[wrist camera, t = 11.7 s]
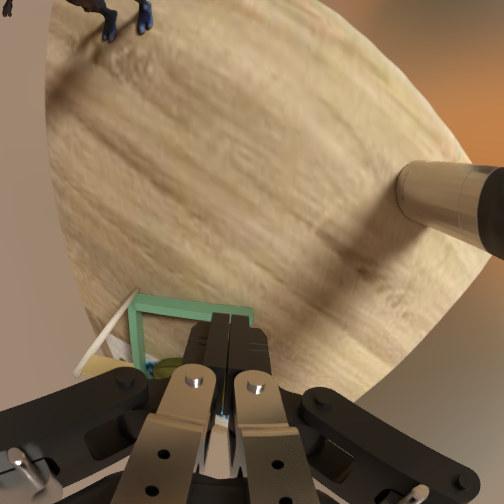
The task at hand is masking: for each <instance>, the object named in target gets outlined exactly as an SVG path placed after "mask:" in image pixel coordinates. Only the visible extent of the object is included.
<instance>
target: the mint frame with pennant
mask: <svg viewBox="0 0 504 504" xmlns="http://www.w3.org/2000/svg"><path fill="white" fill-rule="evenodd" d="M139 292H140V288H139V287H136V288H135V289H134V291H133V292H132V293H131V294H130V296H129V297H128V298H127V299H126V301H125V302H124V303H123V304H122V306H121V307H120V308H119V310H118V311H117V312H116V313H115V315H114V316H113V317H112V319H111V320H110V321H109V323H108V324H107V325H106V327H105V328H104V329H103V330H102V332H101V333H100V334H99V336H98V337H97V339H96V340H95V341H94V343H93V344H92V345H91V347H90V348H89V350H88V351H87V352H86V354H85V355H84V356H83V358H82V359H81V361H80V362H79V363H78V365H77V366H76V368H75V369H74V371H73V372H72V375H73V376H74V377H75V378H79V377H80V375H81V374H82V375H85V376H89V377H92V378H93V377H95V376H98V375H100V374H103V373H105V372H107V371H110V370H112V369H115V368H118V367H133V368H136V369H139V370H141V371H142V372H143V373H144V374H145V375H146V377H147V371H146V360H145V349H144V335H143V318H142V311H143V312H149V313H155V314H161V315H168V316H175V317H182V318H189V319H196V320H204V321H211V318H212V313H213V312H218V313H227V314H230V321H229V324H230V323H231V314H236V315H246V316H249V326H253V320H254V316H253V308H247V307H237V306H228V305H220V304H211V303H203V302H195V301H188V300H180V299H173V298H166V297H159V296H152V295H146V294H140V293H139ZM127 308H128V319H129V331H130V341H131V351H132V359H133V363H130V362H125V361H120V360H116V359H112V358H108V357H104V356H99V355H95V353H96V351H97V350H98V348H99V347H100V346H101V344H102V343H103V341H104V340H105V338H106V337H107V336H108V334H109V333H110V331H111V330H112V329H113V327H114V326H115V324H116V323H117V322H118V320H119V319H120V317H121V316H122V315H123V313H124V312H125V311H126V309H127ZM147 380H149V379H147ZM222 407H223V406H222Z"/></svg>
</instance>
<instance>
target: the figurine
mask: <svg viewBox="0 0 504 504" xmlns="http://www.w3.org/2000/svg"><path fill="white" fill-rule="evenodd" d="M12 1H13V0H7V1H6V3H5V5H4V6H3V13H2V14H3V16H4V17H6V16H7V14H8V16H9V17H11V15H12V14H11V10H12ZM66 1H68V2H69V3H71V4H73V5H76V6H81V7H82V8H83V9H84V11H85V12H96V13H100V14H102V15H103V16H104V18H105V26H104V31H103V36H102V39H103V40H106V39H107V38H108V41H109V42H110V41H113V40H114V37H115V33H116V25H115V22H116V18H117V11H115V10H110V9H108V8H107V7H106V3H105V1H104V0H66ZM135 1H137V2H138V3H139V18H138V25H137V27H138V32H139V34H142V33H144V32H145V27H147V29H150V28H151V27H152V26H153V17H152V12H151V3H150V2H148V1H146V0H135Z"/></svg>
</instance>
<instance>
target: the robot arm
mask: <svg viewBox="0 0 504 504" xmlns="http://www.w3.org/2000/svg"><path fill="white" fill-rule="evenodd" d="M396 196H397V201H398V204H399V207H400V209H401V210H402V212H403V213H404V214H405V215H406V216H407V217H408V218H410V219H412V220H414V221H416V222H419V223H421V224H424V225H426V226H428V227H431V228H433V229H436V230H438V231H441V232H443V233H445V234H448V235H450V236H452V237H455V238H457V239H459V240H461V241H464V242H466V243H468V244H470V245H473V246H475V247H477V248H479V249H481V250H484V251H486V252H488V253H490V254H492V255H494V256H496V257H498V258H500V259H502V260H504V167H497V166H488V165H477V164H467V163H454V162H439V161H413V162H411V163H409V164H408V165H407V166H406V167H404V169H403V170H402V171H401V173H400V175H399V177H398V181H397V185H396ZM229 321H230V314H227V313H218V312H213V313H212V318H211V323H203V322H198V323H197V324H196V325H195V326H193V327H192V329H191V332H190V336H189V339H188V343H187V346H186V350H185V353H184V357H183V360H182V364H181V366H180V367H178V368H177V369H176V370H175V371H174V372H173V374H172V376H170V377H168V378H163V379H149V380H147V377H146V375H145V374H144V373H143V372H142V371H141V370H139V369H136V368H133V367H118V368H115V369H112V370H110V371H107V372H105V373H103V374H100V375H98V376H95V377H93V378H90V379H88V380H85V381H83V382H80V383H78V384H75V385H73V386H70V387H68V388H65V389H62V390H60V391H57V392H54V393H52V394H49V395H46V396H44V397H41V398H38V399H36V400H33V401H30V402H27V403H24V404H21V405H18V406H15V407H13V408H10V409H7V410H4V411H1V412H0V504H339V503H338V502H337V501H335V500H334V499H333V498H331V497H330V496H328V495H327V494H325V493H323V492H322V491H320V490H317V489H316V488H315V484H314V481H313V478H315V479H316V480H317V481H318V482H320V483H321V484H323V485H324V486H325V487H327V488H328V489H329V490H331V491H332V492H334V493H335V494H336V495H338V496H339V497H341V498H342V499H344V500H345V501H347V502H348V503H350V504H468V503H469V502H470V501H471V500H473V499H474V498H475V497H476V496H477V495H478V493H479V491H480V479H479V477H478V475H477V474H476V473H475V472H474V471H473V470H471V469H470V468H468V467H466V466H464V465H462V464H460V463H458V462H456V461H454V460H452V459H450V458H448V457H446V456H444V455H442V454H440V453H438V452H436V451H435V450H433V449H431V448H429V447H427V446H425V445H423V444H422V443H420V442H418V441H416V440H414V439H413V438H411V437H409V436H407V435H405V434H404V433H402V432H400V431H399V430H397V429H395V428H394V427H392V426H390V425H388V424H387V423H385V422H383V421H382V420H380V419H378V418H377V417H375V416H374V415H372V414H370V413H369V412H367V411H365V410H364V409H362V408H361V407H359V406H357V405H356V404H354V403H353V402H351V401H350V400H348V399H346V398H345V397H343V396H342V395H340V394H339V393H337V392H336V391H334V390H332V389H329V388H325V387H314V388H310V389H308V390H307V391H305V393H304V394H303V395H300V394H296V393H292V392H289V391H286V390H284V389H282V388H280V387H279V386H278V384H277V381H276V380H275V379H274V378H273V377H272V374H271V366H270V358H269V352H268V345H267V344H268V343H267V336H266V335H265V333H264V332H263V331H262V330H261V329H259V328H249V316H246V315H236V314H231V323H230V331H229ZM228 333H229V340H228ZM227 346H228V350H227ZM226 360H227V361H226ZM225 372H226V375H225ZM224 381H225V390H224ZM223 390H224V405H223V415H229V423H228V430H227V437H228V452H229V466H230V478H229V479H215V478H212V477H209V476H205V475H204V470H205V465H206V460H207V455H208V450H209V445H210V440H211V435H212V428H213V426H214V424H215V415H216V414H218V415H221V409H222V400H223ZM328 439H329V440H330V441H332V442H333V443H334V444H336V445H337V446H339V447H340V448H342V449H343V450H344V451H343V450H342V449H340V448H339V447H337V446H336V445H334V444H333V443H332V442H330V441H329V440H328ZM345 451H346V452H347V453H349V454H350V455H352V456H353V457H354V458H353V457H352V456H350V455H349V454H347V453H346V452H345ZM129 455H130V457H129V459H128V462H127V464H126V467H125V469H124V471H120V472H116V473H113V474H111V475H108V476H106V477H104V478H102V479H101V480H99V481H97V482H95V483H93V484H91V485H90V486H88V487H86V488H84V489H82V490H80V491H78V492H76V493H74V494H72V495H70V496H68V497H66V498H64V499H62V500H61V498H62V495H63V488H64V487H66V486H69V485H71V484H73V483H75V482H77V481H80V480H82V479H84V478H86V477H88V476H90V475H92V474H94V473H96V472H98V471H100V470H102V469H104V468H106V467H108V466H110V465H112V464H114V463H116V462H118V461H119V460H121V459H123V458H125V457H127V456H129ZM312 477H313V478H312Z"/></svg>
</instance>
